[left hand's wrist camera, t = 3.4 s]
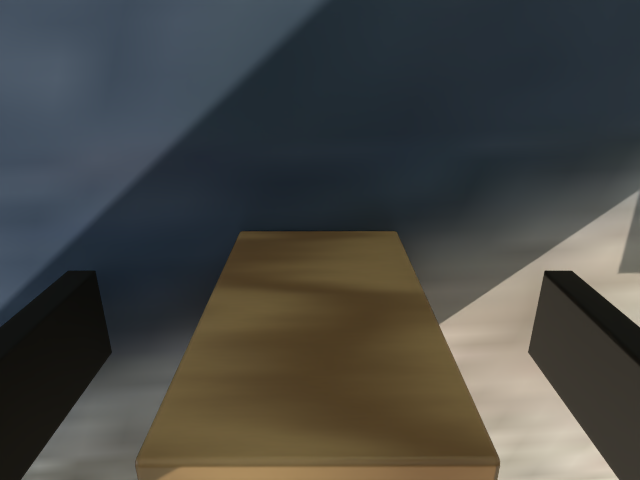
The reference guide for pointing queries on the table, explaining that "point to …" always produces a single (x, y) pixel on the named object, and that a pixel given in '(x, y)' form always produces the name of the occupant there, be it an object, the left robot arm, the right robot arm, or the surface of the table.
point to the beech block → (318, 372)
